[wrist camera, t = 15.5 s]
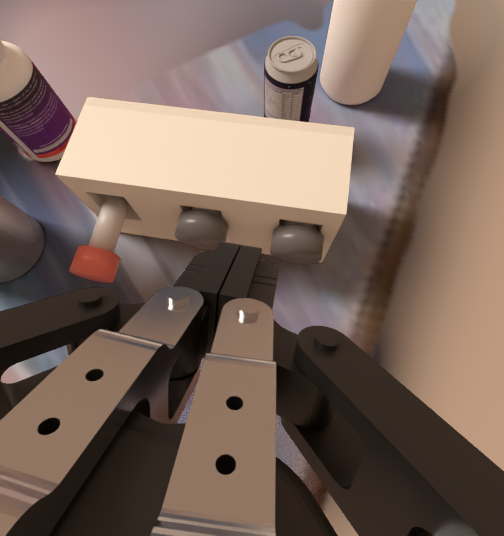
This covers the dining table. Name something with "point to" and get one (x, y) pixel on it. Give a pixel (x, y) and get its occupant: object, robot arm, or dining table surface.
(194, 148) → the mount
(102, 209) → the red knob
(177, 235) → the knob
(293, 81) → the beverage can
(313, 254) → the knob
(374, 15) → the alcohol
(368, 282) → the dining table surface
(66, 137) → the pill bottle
